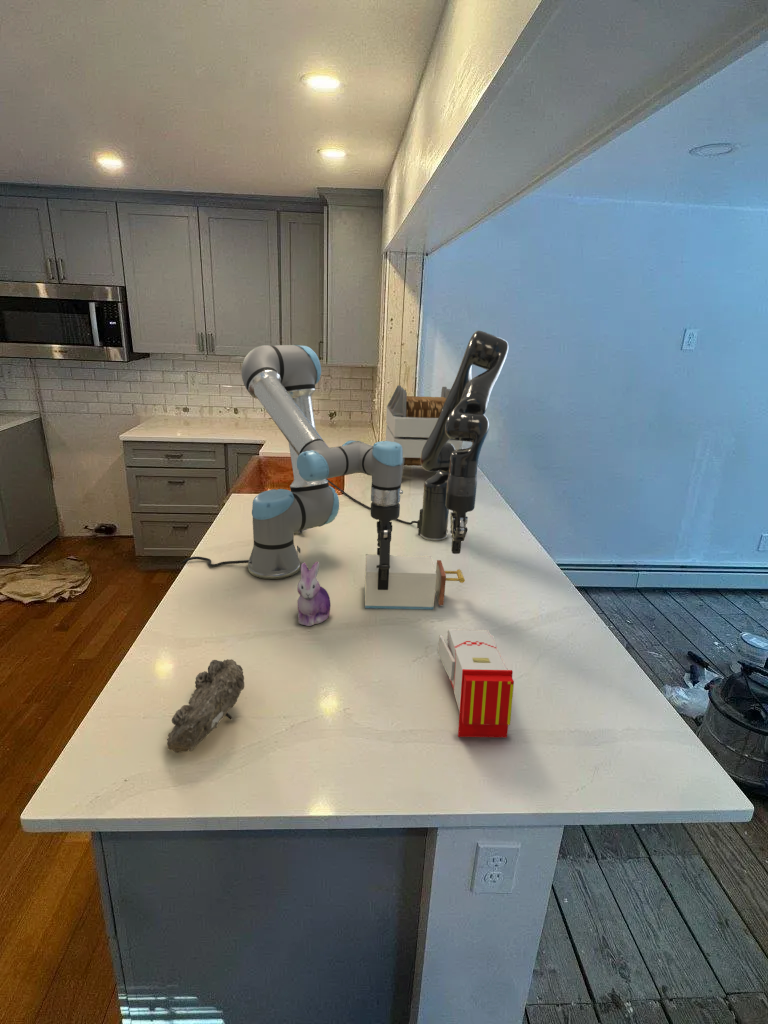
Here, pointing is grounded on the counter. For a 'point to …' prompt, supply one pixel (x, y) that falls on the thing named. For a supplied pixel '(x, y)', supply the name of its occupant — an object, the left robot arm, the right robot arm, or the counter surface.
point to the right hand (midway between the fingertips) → (455, 552)
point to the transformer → (414, 423)
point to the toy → (478, 682)
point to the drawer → (444, 580)
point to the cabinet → (401, 583)
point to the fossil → (206, 705)
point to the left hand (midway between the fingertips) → (382, 579)
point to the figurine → (312, 597)
